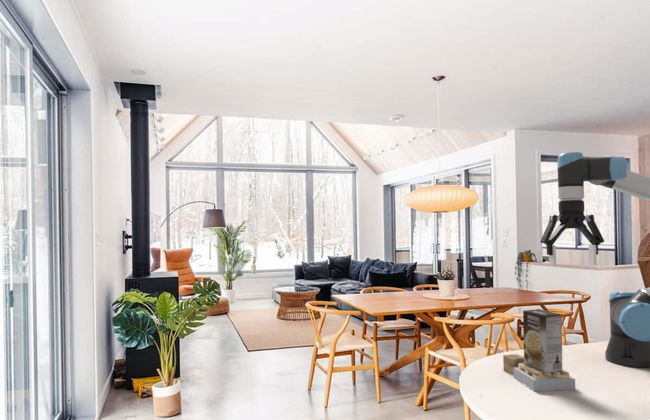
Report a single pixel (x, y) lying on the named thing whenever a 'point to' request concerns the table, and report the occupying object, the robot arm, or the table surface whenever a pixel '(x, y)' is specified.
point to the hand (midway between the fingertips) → (572, 265)
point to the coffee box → (542, 340)
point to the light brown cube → (511, 362)
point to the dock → (544, 382)
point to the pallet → (540, 374)
